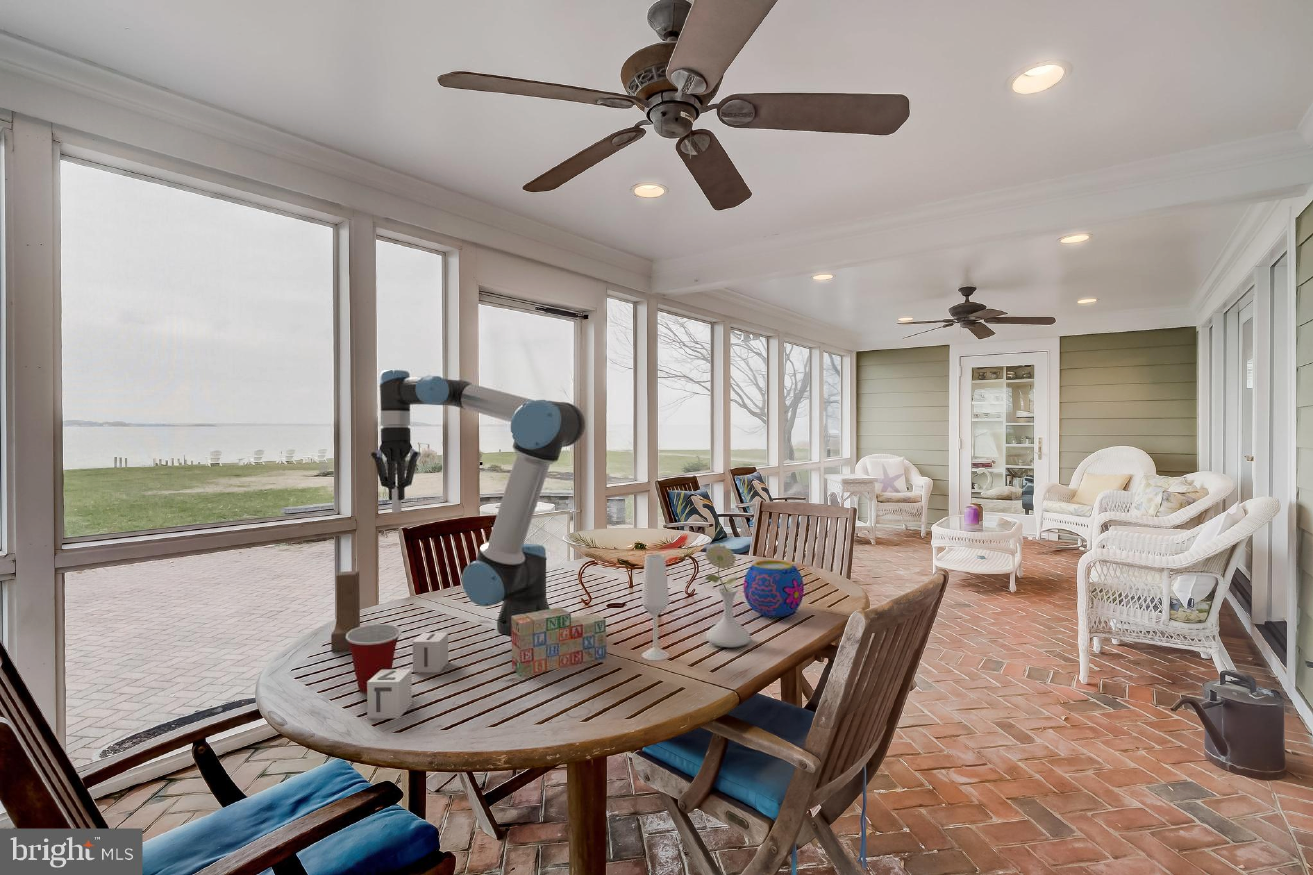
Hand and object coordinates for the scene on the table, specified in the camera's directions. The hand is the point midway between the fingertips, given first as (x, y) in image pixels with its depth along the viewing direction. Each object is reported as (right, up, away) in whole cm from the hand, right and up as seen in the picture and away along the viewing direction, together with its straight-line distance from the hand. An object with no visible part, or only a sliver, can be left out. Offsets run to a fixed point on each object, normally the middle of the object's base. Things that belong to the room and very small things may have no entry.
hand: (396, 512), depth 167 cm
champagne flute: (+72, -32, -21) cm, 81 cm away
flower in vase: (+89, -32, -13) cm, 96 cm away
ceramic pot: (+106, -32, +11) cm, 111 cm away
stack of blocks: (+49, -33, -25) cm, 64 cm away
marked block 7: (+20, -33, -49) cm, 62 cm away
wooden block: (-8, -33, -13) cm, 36 cm away
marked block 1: (+20, -33, -27) cm, 47 cm away
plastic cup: (+12, -33, -38) cm, 52 cm away
